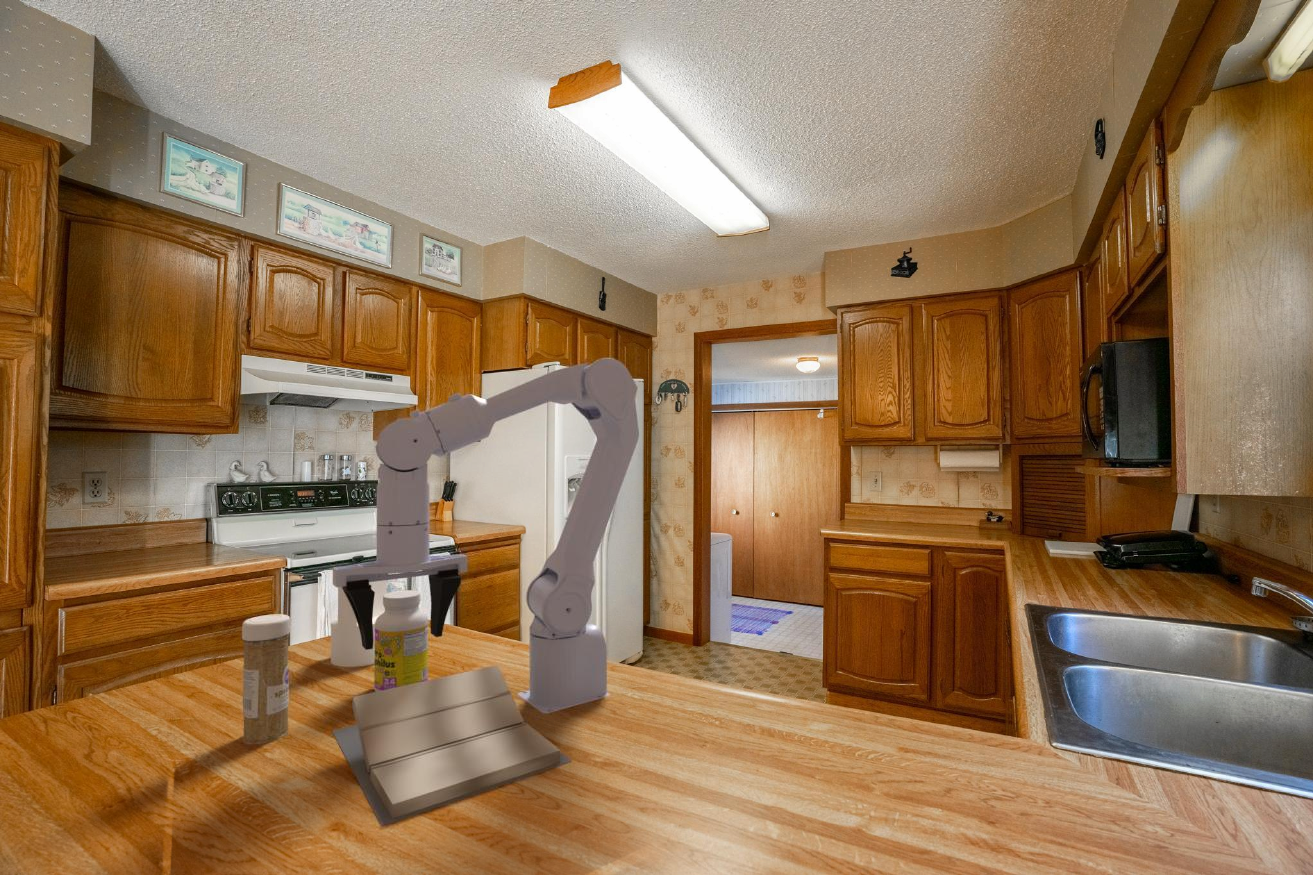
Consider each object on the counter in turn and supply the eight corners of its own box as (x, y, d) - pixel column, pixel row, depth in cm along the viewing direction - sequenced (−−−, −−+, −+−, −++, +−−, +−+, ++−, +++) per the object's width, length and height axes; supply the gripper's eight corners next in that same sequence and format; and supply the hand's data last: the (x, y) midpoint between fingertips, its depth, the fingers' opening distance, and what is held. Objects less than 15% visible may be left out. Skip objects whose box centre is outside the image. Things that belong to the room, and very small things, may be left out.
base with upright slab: (352, 647, 103) (352, 573, 103) (405, 648, 102) (405, 574, 102) (317, 666, 94) (318, 585, 94) (374, 667, 93) (374, 586, 93)
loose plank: (495, 672, 76) (497, 664, 76) (521, 728, 70) (524, 720, 70) (352, 704, 67) (353, 696, 66) (368, 773, 61) (369, 764, 60)
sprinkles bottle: (290, 742, 69) (291, 619, 69) (241, 753, 66) (242, 625, 67) (288, 727, 73) (289, 610, 73) (241, 737, 70) (242, 616, 71)
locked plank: (525, 733, 69) (525, 721, 69) (560, 761, 63) (560, 749, 63) (370, 779, 60) (370, 766, 60) (392, 818, 53) (392, 803, 53)
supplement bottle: (365, 691, 84) (365, 594, 84) (412, 677, 89) (412, 586, 89) (389, 704, 79) (389, 602, 80) (437, 689, 84) (437, 592, 85)
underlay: (486, 697, 81) (486, 692, 81) (571, 766, 63) (571, 760, 63) (331, 736, 70) (331, 730, 70) (381, 833, 52) (381, 825, 52)
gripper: (453, 516, 81) (453, 622, 80) (327, 524, 72) (327, 644, 72) (473, 521, 75) (473, 635, 75) (340, 530, 66) (339, 660, 66)
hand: (403, 640), depth 73 cm, fingers open, 7 cm apart
